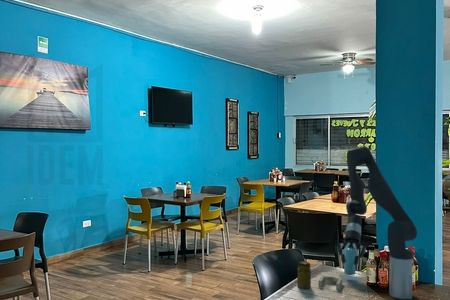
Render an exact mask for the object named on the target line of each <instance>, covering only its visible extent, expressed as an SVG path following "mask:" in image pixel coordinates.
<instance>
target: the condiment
mask: <svg viewBox="0 0 450 300" xmlns="http://www.w3.org/2000/svg"><path fill="white" fill-rule="evenodd" d="M311 273H312V270H311V263H310V262H309V261H305V260H304V261H302V260H301V261H299V262H298V267H297V288H298V289H300V290H310V289H311V288H312V283H311V282H312V281H311V280H312V277H311V276H312V274H311Z"/></svg>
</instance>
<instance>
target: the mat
mask: <svg viewBox="0 0 450 300" xmlns="http://www.w3.org/2000/svg"><path fill="white" fill-rule="evenodd" d="M338 277H340V278H342V283H343V284H344V283H346V284H353V285H358V286H359V285H360V286H361V284H362V282H363V280H364V279H363V278H364V277H362V276H361V277H360V276H354V275H348V274H339V276H338Z"/></svg>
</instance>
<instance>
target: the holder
mask: <svg viewBox="0 0 450 300" xmlns="http://www.w3.org/2000/svg"><path fill="white" fill-rule="evenodd" d="M343 286H344V283H343V282H342V278H340V277H339V276H331V275H324V274H322V275H321V277H320V278H319V280H318V286H317V288H319V289H324V290H331V291H335V292H336V291H337V292H341V290H342V287H343Z"/></svg>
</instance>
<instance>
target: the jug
mask: <svg viewBox="0 0 450 300" xmlns="http://www.w3.org/2000/svg"><path fill="white" fill-rule="evenodd" d="M344 248H345V247H344ZM355 257H356V249H355V248H350V247H347V248H345V255H344V263H343V266H344V268H343V272H344V275H347V276H354V275H356V265H355Z"/></svg>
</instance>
